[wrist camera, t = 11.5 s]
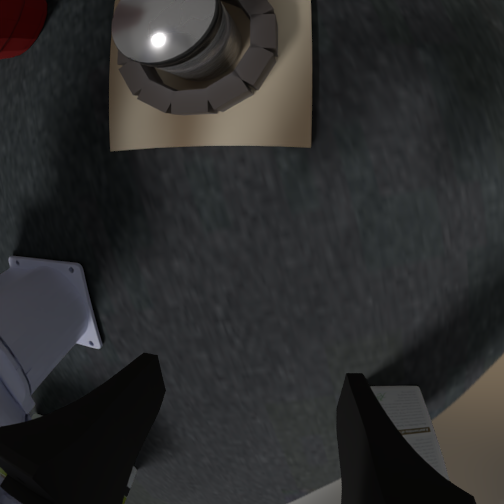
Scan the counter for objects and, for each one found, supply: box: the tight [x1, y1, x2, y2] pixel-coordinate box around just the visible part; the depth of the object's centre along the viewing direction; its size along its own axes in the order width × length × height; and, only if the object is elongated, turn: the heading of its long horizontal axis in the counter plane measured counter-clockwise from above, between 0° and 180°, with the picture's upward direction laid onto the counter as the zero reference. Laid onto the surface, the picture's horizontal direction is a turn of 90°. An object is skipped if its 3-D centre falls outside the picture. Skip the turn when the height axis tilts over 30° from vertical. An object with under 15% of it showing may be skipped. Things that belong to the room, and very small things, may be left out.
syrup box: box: [370, 386, 449, 480], centre depth 16 cm, size 6×6×14 cm
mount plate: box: [109, 0, 312, 152], centre depth 14 cm, size 12×12×3 cm
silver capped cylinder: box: [112, 0, 242, 81], centre depth 12 cm, size 4×4×6 cm
